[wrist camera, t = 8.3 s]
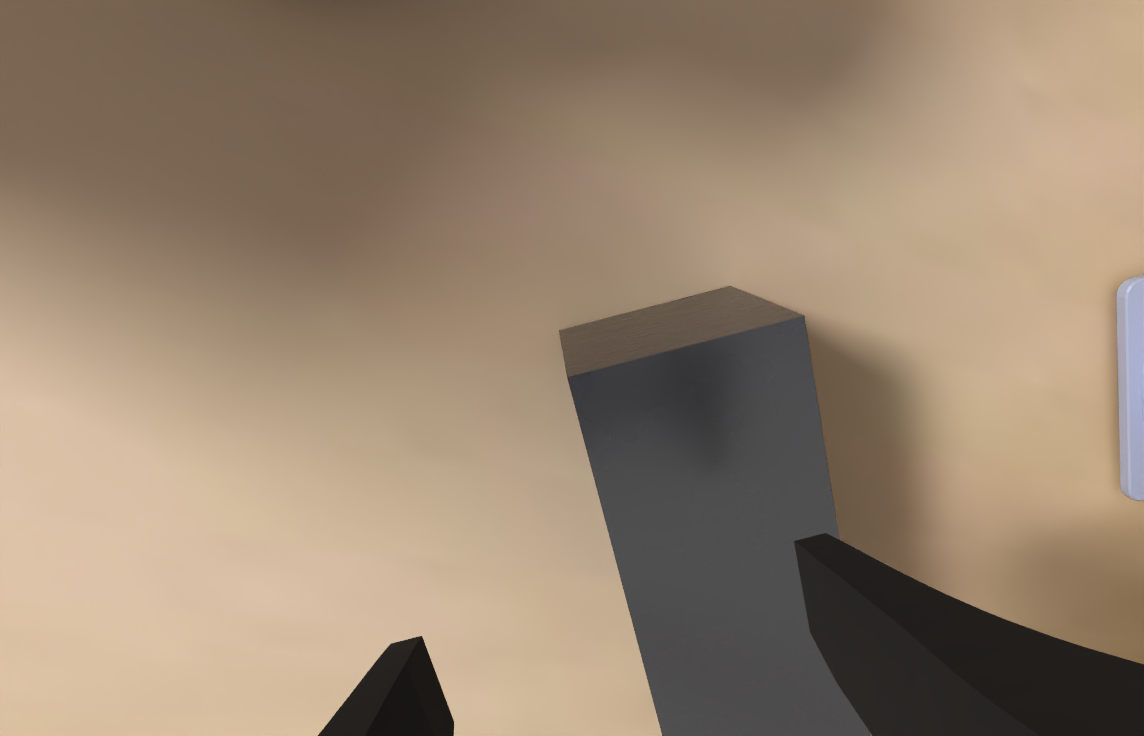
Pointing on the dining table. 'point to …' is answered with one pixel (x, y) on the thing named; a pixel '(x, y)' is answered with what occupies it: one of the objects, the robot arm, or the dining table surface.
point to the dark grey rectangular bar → (713, 506)
